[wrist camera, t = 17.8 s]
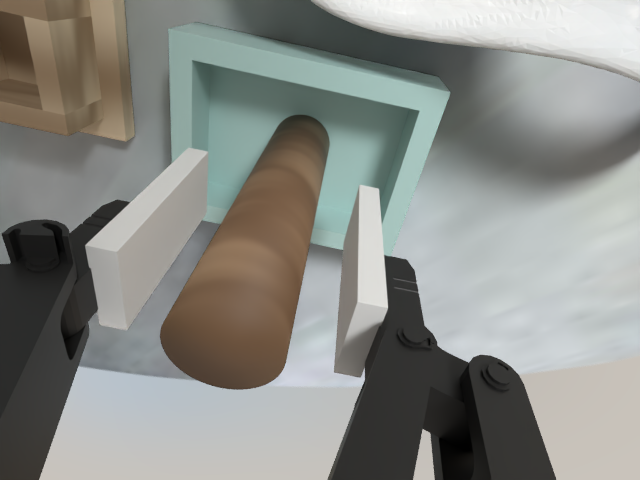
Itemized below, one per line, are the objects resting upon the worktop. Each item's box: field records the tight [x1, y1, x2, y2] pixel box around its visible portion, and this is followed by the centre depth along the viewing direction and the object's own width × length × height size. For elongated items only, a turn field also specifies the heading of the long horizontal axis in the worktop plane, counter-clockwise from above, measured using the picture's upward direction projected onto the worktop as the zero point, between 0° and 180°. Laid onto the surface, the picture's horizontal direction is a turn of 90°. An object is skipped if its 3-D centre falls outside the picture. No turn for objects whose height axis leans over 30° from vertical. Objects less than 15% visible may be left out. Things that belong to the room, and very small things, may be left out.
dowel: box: [160, 114, 330, 389], centre depth 15 cm, size 3×3×14 cm
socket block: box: [0, 0, 135, 142], centre depth 18 cm, size 8×8×4 cm
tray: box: [168, 22, 451, 256], centre depth 20 cm, size 9×12×3 cm
